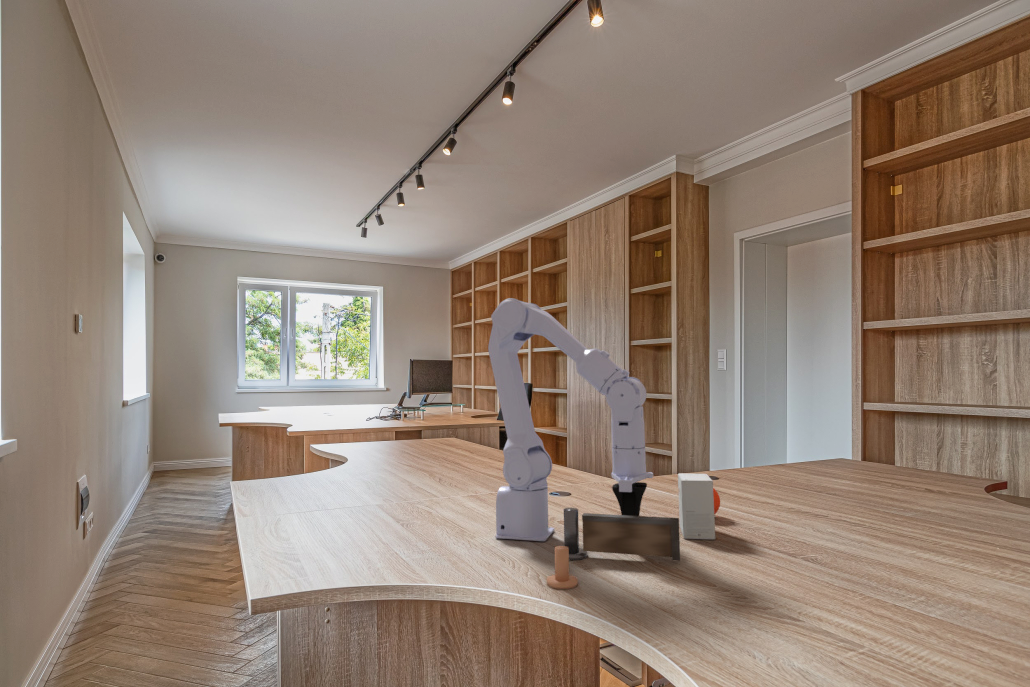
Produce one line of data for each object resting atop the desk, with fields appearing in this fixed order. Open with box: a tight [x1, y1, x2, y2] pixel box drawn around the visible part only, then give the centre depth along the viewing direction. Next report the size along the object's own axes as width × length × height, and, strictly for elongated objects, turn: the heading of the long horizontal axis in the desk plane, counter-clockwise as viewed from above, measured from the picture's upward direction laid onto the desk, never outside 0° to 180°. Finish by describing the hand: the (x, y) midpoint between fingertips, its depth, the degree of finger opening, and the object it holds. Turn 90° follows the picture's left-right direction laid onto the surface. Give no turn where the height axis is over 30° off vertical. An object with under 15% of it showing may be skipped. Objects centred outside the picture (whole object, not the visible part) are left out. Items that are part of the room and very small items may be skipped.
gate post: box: [563, 507, 588, 561], centre depth 95 cm, size 5×5×8 cm
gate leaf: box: [581, 512, 681, 562], centre depth 92 cm, size 15×2×6 cm, turn 73°
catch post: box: [546, 545, 579, 590], centre depth 82 cm, size 4×4×5 cm
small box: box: [677, 472, 716, 540], centre depth 106 cm, size 8×6×10 cm
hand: (631, 526), depth 99 cm, fingers closed
